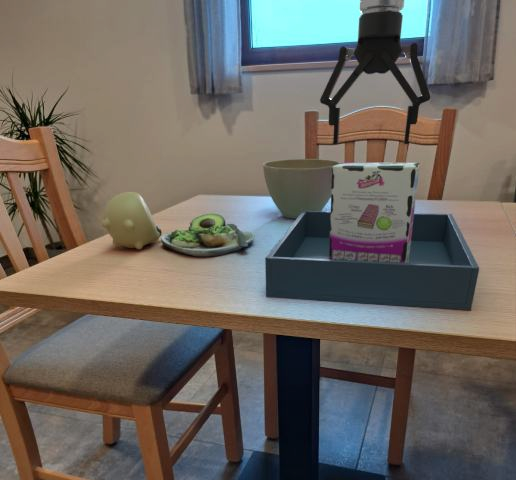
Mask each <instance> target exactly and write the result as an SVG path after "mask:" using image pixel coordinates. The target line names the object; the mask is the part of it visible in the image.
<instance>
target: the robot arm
mask: <svg viewBox="0 0 516 480" xmlns="http://www.w3.org/2000/svg"><path fill="white" fill-rule="evenodd" d="M404 7H405V0H359V11H360V13H362V14H361V15H360V17H358V28H357V29H358V31H357V43H356V47H355V48H351V47H345V46H341V47H340V49H339V53H338V58H337V62H336V64H335V66H334V68H333V71H332V72H331V75H330V77H329V78H328V79H329V80H328V81H327V83H326V86H325V88H324V90H323V92H322V93H321V96H320V98H319V103H320V104H323V105H326V106H327V107H328V125H329V126H333V139H332V145H338V144H339V138H340V137H339V136H340V120H341V119H340V118H341V106H340V107H339V106H338V107H337V105H338V104H339V103H340V102H341V100H342V99H343V97H344V96H345V95H346V94H347V92H348V91H349V90H350V89H351V88H352V86H353V85H354V83H355V82H357V80H358V79H359V77H360V76H361V75H362V74H363V73H364V74H366V75H374V74H379V75H385V74H387V73H388V72H389V71H390V73H391V74H392V76H393V77H394V78H395V80H396V81H397V83H398V84H399V86H400V88H401V89H402V90H403V92H404V93H405V95H406V96H407V98H408V99H409V101H410V102H411V105H407V112H406V121H405V127H404V128H405V129H404V138H403V144H404V145H409V142H410V134H411V133H410V132H411V125H417V123H418V118H419V110H420V109H419V108H420V105H422V104H423V103H426V102H428V101H430V100H431V93H430V89H429V88H428V87H429V86H428V85H427V82H426V79H425V75H424V72H423V70H422V66H421V64H420V61H419V58H418V53H419V52H418V47H419V46H418V44H417V43H416V42H413V43H411V44H408V45H402V43H401V36H402V29H403V28H402V26H403V17H404V15H403V13H402V12H400V11H402V10H403V9H404ZM402 54H404V56H405V58H406V59H407V60H409V62H410V65H411V69H412V71H413V74H414V77H415V81H416V83H417V87H418V88H419V89H418V90H419V92H420V94H421V95H419V96H418V95H417V94H416V92H415V91H414V90H413V88H412V86H411V85H410V83H409V81H407V79H406V77H405V76H404V74H403V73H402V72H401V70H400V68H399V67H398V65H397V64H396V62H397V61H398V59H399V58H400V57H401V55H402ZM353 56H354V58H355V59H356V61H357V63H358V65H357V66H356V67H355V68H354V70H353V72H351V74H350V75H349V76H348V78H347V79H346V81H344V83H343V84H342V85H341V87H340V88H339V89H338V90H337V91H336V93H335V94H334V96H333V97H332V98H330V97H331V95H332V93H333V91H334V89H335V87H336V84H337V82H338V81H339V78H340V76H341V74H342V71H343V70H344V68H345V66H346V62H350V60H351V58H352V57H353Z"/></svg>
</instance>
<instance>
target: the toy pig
mask: <svg viewBox="0 0 516 480" xmlns="http://www.w3.org/2000/svg"><path fill="white" fill-rule="evenodd" d="M101 226H102V227H103V228H104V229H106V231H107V233H108V235H109V236H110V237H111V238H112V246H113V247H114V248H119V247H121V246H122V247H125V248H128V249H136V250H141V249H142V248H143V247H144V246H146V245H151V244H154V243H156V242H158V240H159V239H160V238H161V237H162V234H163V232H162V229H161V228H160V227H159V226H157V224H156V222H155V219H154V217H153V215H152V212H151V211H150V209H149V207H148V205H147V203H146V201H145V199H144V198H143V197H142V196H141V194H140V193H138V192H135V191H126V192H121V193H119V194H117V195H115V196H113V197H112V198H111V199H110V200H109V201H108V202H107V204H106V206H105V208H104V212H103V221H101Z"/></svg>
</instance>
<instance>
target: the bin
mask: <svg viewBox="0 0 516 480" xmlns="http://www.w3.org/2000/svg"><path fill="white" fill-rule="evenodd" d="M330 217H331V210H330V211H329V210H328V211H327V210H322V211H303V212H302V213H301V214H300V215H299V217H298V218H297V219H294V221H293V223H292V224H291V225H290V226H289V228H288V229H287V230H286V232H285V233H284V234H283V235H282V237H281V238H280V239H279V240H278V242H277V243H276V244H275V246H274V247H272V249H271V250H270V252H269V253H268V254H267V255H266V256H265V261H264V263H265V266H264V267H265V297H266V298H278V299H279V298H280V299H296V300H307V301H308V300H309V301H310V300H311V301H322V302H323V301H325V302H337V303H338V302H339V303H351V304H352V303H354V304H355V303H356V304H367V305H383V306H384V305H385V306H396V307H397V306H398V307H413V308H414V307H415V308H427V309H441V310H442V309H443V310H458V311H460V310H461V311H472V307H473V302H474V299H475V298H474V297H475V294H476V293H475V292H476V288H477V282H478V277H479V272H480V267H479V265H478V263H477V260H476V258H475V257H474V255H473V253H472V251H471V249H470V247H469V245H468V243H467V241H466V240H465V237H464V235H463V233H462V231H461V229H460V227H459V226H458V223H457V221H456V219H455V218H454V216H453V214H452V213H424V212H423V213H421V212H420V213H419V212H418V213H417V212H416V213H415V212H414V218H413V228H412V236H411V246H410V254H409V263H398V262H376V261H354V260H333V259H329V245H330Z"/></svg>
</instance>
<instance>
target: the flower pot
mask: <svg viewBox="0 0 516 480" xmlns="http://www.w3.org/2000/svg"><path fill="white" fill-rule="evenodd" d="M339 163H341V162H339V161H337V160H332V159H323V158H321V159H320V158H296V159H295V158H289V159H277V160H271V161H266V162H264V163H263V164H262V169H263V176H264V181H265V184H266V188H267V191H268V194H269V195H270V198H271V200H272V202H273V203H274V205H275V206H276V208H277V209H278V211H279V212H280V213H281V215H282V216H283V217H285V218H287V219H292V220H296V219H297V218H298V217H299V215H300V214H301V213H302V212H303V211H323V210H324V208H325V207H326V205H327V204H328V203H329V201H330V200H331V185H332V184H331V181H332V167H333V166H335V165H337V164H339Z"/></svg>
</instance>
